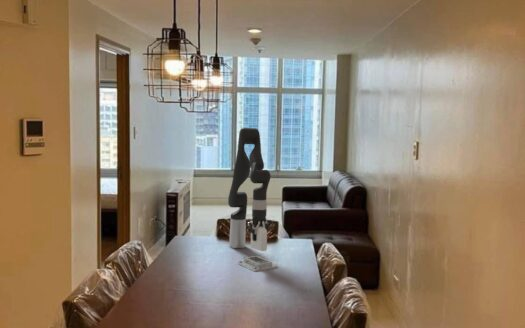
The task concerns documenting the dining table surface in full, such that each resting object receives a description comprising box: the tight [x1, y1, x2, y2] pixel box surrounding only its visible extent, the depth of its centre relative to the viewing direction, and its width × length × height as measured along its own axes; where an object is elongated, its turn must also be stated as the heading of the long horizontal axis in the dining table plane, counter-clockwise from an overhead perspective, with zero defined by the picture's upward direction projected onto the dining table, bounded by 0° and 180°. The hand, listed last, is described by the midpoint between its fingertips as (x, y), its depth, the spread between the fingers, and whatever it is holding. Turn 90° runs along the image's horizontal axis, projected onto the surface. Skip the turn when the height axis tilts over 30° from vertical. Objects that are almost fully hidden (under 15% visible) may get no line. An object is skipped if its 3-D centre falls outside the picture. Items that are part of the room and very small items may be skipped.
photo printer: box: [250, 226, 268, 252], centre depth 260 cm, size 10×4×12 cm, turn 39°
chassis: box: [237, 255, 279, 272], centre depth 261 cm, size 16×15×3 cm
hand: (258, 240), depth 261 cm, fingers closed on photo printer, 4 cm apart
